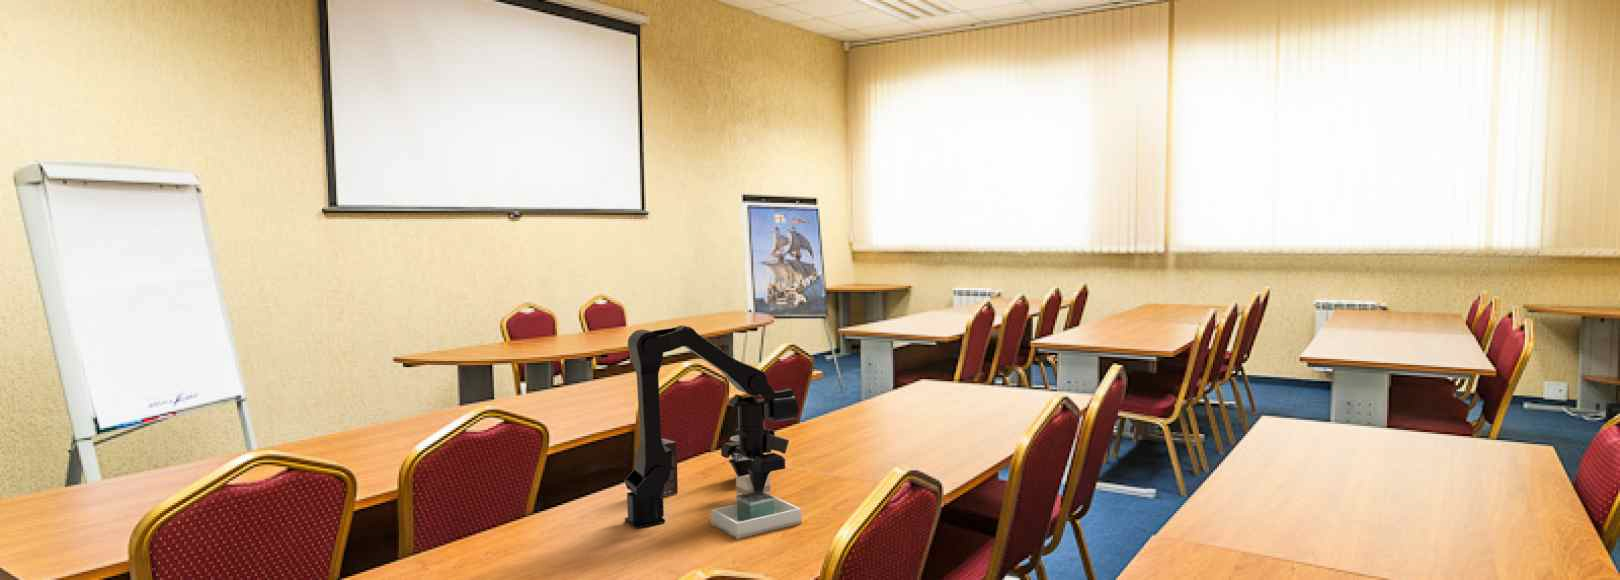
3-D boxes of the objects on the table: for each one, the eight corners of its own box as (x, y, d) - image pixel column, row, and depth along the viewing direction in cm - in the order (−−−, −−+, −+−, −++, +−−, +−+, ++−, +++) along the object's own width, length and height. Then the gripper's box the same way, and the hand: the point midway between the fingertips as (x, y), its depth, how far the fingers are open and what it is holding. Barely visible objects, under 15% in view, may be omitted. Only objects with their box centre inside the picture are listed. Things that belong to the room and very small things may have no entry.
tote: (737, 538, 172) (736, 523, 172) (711, 523, 181) (710, 509, 181) (801, 523, 180) (801, 508, 180) (773, 509, 189) (773, 496, 189)
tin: (736, 519, 181) (736, 495, 181) (760, 514, 185) (760, 490, 184) (750, 527, 177) (750, 502, 176) (775, 521, 180) (774, 497, 180)
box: (679, 493, 203) (677, 441, 202) (662, 497, 200) (660, 444, 199) (666, 487, 208) (664, 437, 207) (648, 491, 205) (647, 440, 204)
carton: (746, 504, 191) (745, 481, 191) (736, 499, 195) (735, 477, 195) (770, 499, 194) (769, 476, 194) (760, 494, 198) (759, 472, 198)
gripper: (805, 426, 190) (807, 497, 191) (761, 412, 206) (763, 478, 207) (761, 434, 184) (762, 507, 185) (719, 419, 200) (720, 487, 201)
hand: (753, 494), depth 195 cm, fingers closed on carton, 4 cm apart
